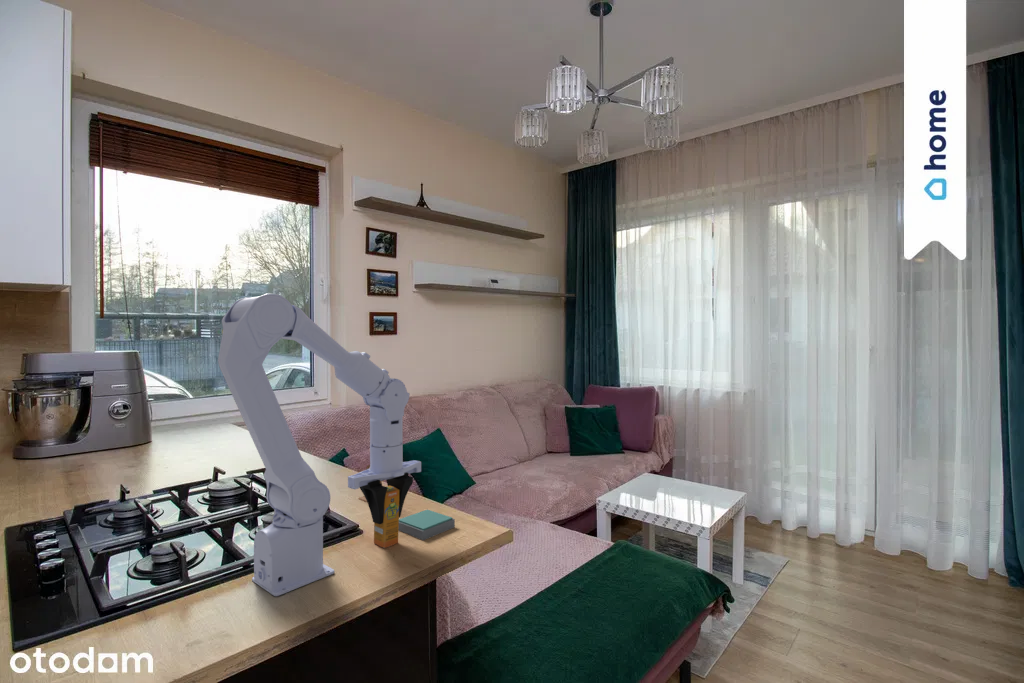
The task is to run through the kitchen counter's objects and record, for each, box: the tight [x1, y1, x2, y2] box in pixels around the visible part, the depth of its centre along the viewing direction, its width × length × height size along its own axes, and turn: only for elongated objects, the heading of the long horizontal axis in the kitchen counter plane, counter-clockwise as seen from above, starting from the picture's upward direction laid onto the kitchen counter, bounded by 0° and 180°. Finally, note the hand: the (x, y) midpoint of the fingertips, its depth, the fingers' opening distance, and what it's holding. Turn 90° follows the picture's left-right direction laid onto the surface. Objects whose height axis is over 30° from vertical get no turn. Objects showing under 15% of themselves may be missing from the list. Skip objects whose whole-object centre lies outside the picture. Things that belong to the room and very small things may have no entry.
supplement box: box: [373, 485, 400, 549], centre depth 90 cm, size 3×3×10 cm
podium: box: [398, 509, 456, 541], centre depth 97 cm, size 8×8×2 cm
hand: (386, 519), depth 90 cm, fingers closed on supplement box, 3 cm apart
